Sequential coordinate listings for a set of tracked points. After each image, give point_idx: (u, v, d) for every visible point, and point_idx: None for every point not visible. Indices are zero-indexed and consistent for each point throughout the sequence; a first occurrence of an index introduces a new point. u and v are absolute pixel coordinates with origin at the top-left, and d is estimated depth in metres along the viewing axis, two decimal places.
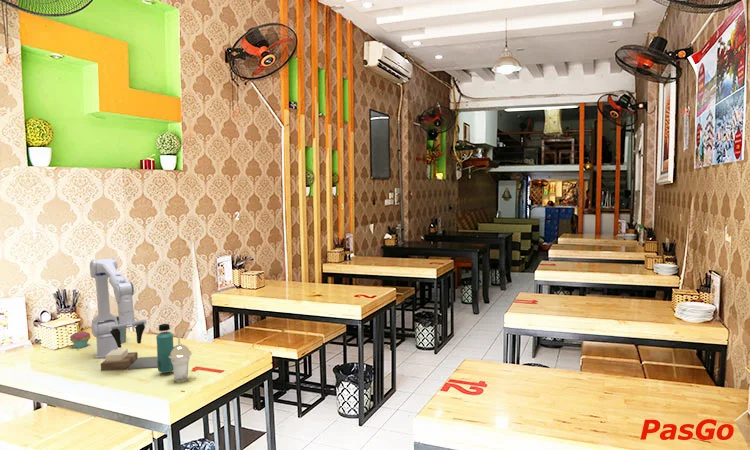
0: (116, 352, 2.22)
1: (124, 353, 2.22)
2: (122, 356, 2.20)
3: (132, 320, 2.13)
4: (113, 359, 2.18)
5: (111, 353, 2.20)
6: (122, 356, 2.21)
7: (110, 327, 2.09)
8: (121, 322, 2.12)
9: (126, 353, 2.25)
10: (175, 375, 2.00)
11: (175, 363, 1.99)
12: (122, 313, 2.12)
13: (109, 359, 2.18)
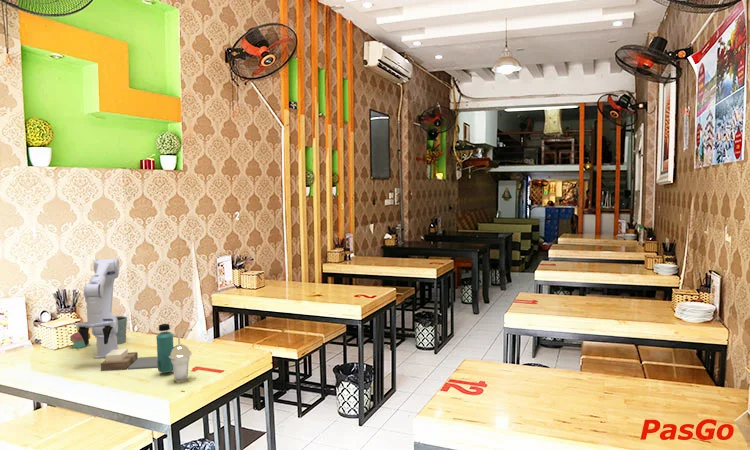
0: (116, 352, 2.22)
1: (124, 353, 2.22)
2: (122, 356, 2.20)
3: (96, 322, 2.18)
4: (113, 359, 2.18)
5: (111, 353, 2.20)
6: (122, 356, 2.21)
7: (77, 325, 2.19)
8: (87, 322, 2.19)
9: (126, 353, 2.25)
10: (175, 375, 2.00)
11: (175, 363, 1.99)
12: (87, 313, 2.18)
13: (109, 359, 2.18)
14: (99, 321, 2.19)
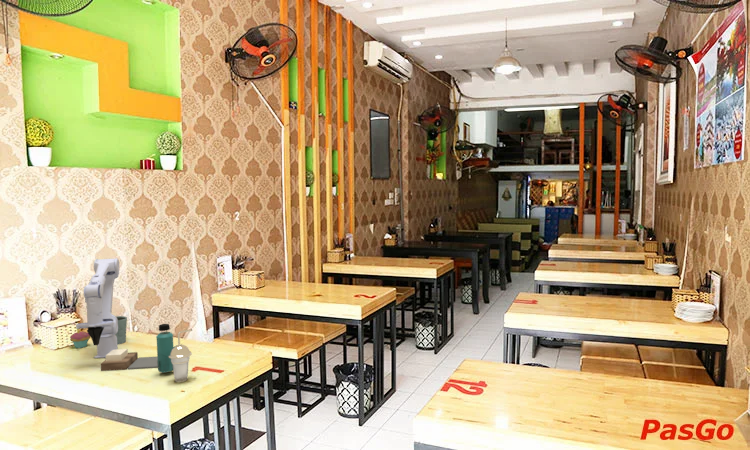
0: (116, 352, 2.22)
1: (124, 353, 2.22)
2: (122, 356, 2.20)
3: (96, 322, 2.18)
4: (113, 359, 2.18)
5: (111, 353, 2.20)
6: (122, 356, 2.21)
7: (77, 325, 2.19)
8: (87, 322, 2.19)
9: (126, 353, 2.25)
10: (175, 375, 2.00)
11: (175, 363, 1.99)
12: (87, 314, 2.18)
13: (109, 359, 2.18)
14: (99, 322, 2.19)
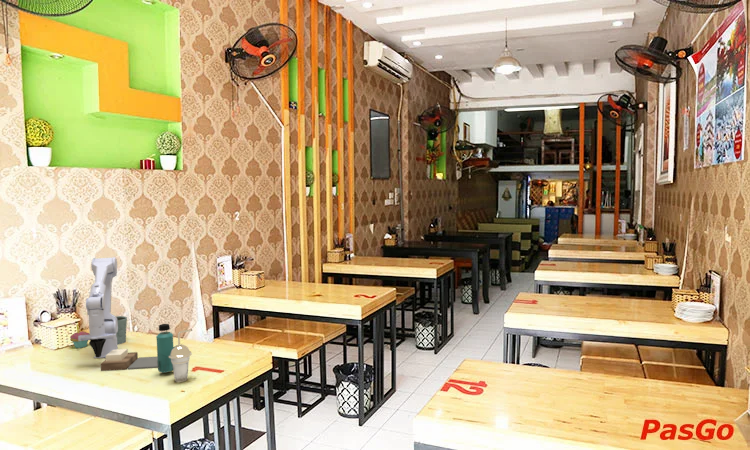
0: (116, 352, 2.22)
1: (124, 353, 2.22)
2: (122, 356, 2.20)
3: (98, 334, 2.18)
4: (113, 359, 2.18)
5: (111, 353, 2.20)
6: (122, 356, 2.21)
7: (79, 337, 2.19)
8: (89, 334, 2.19)
9: (126, 353, 2.25)
10: (175, 375, 2.00)
11: (175, 363, 1.99)
12: (89, 326, 2.18)
13: (109, 359, 2.18)
14: (101, 334, 2.19)
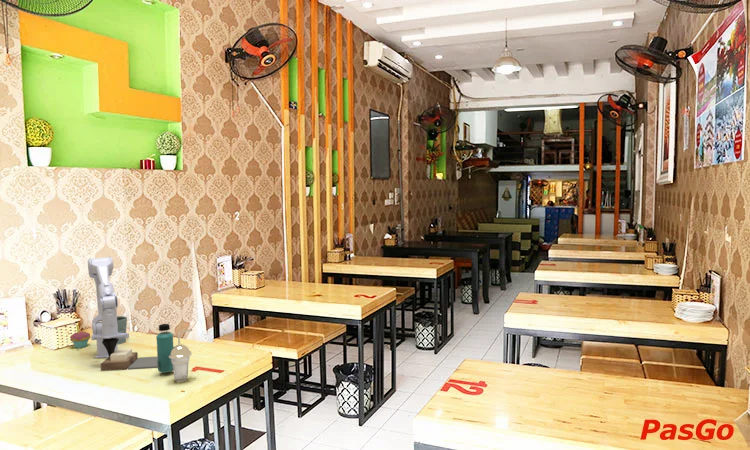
0: (121, 352, 2.22)
1: (128, 353, 2.22)
2: (127, 356, 2.20)
3: (111, 334, 2.19)
4: (118, 359, 2.18)
5: (115, 353, 2.20)
6: (127, 356, 2.21)
7: (92, 337, 2.20)
8: (102, 334, 2.20)
9: (131, 353, 2.25)
10: (175, 375, 2.00)
11: (175, 363, 1.99)
12: (102, 326, 2.19)
13: (114, 359, 2.18)
14: (114, 333, 2.20)
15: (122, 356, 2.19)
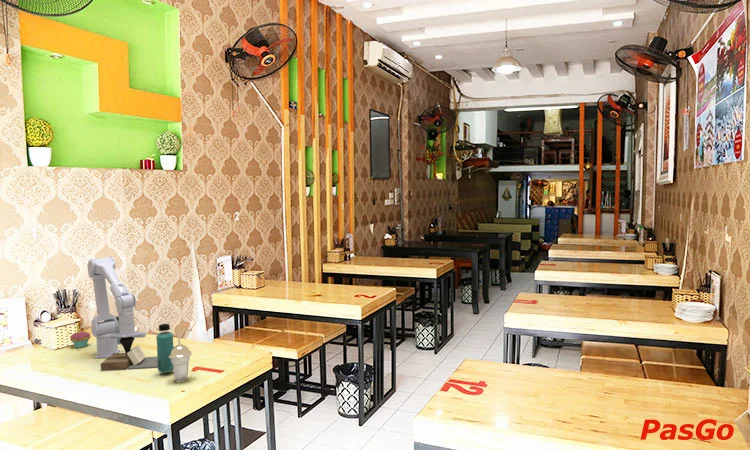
0: (138, 354, 2.23)
1: (140, 360, 2.23)
2: (138, 362, 2.21)
3: (128, 333, 2.20)
4: (131, 358, 2.19)
5: (135, 351, 2.21)
6: None
7: (109, 336, 2.20)
8: (119, 333, 2.21)
9: None
10: (175, 375, 2.00)
11: (175, 363, 1.99)
12: (119, 325, 2.20)
13: (130, 355, 2.19)
14: (131, 332, 2.21)
15: (136, 361, 2.19)
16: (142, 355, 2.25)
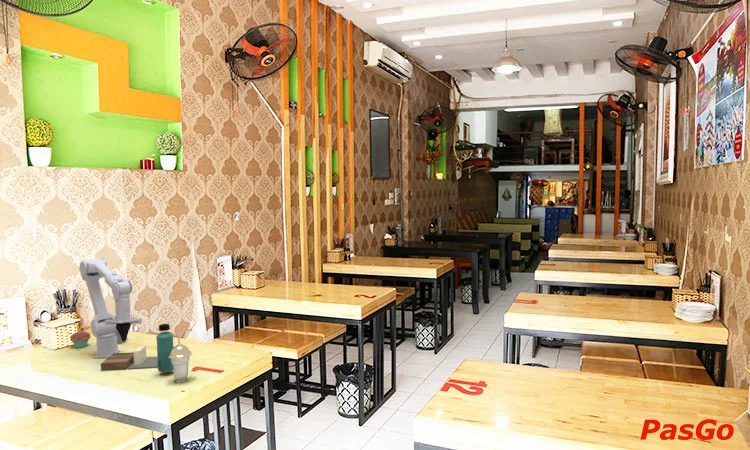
0: (142, 355, 2.23)
1: None
2: None
3: (124, 318, 2.23)
4: (135, 358, 2.19)
5: (141, 352, 2.21)
6: None
7: (106, 321, 2.24)
8: (116, 318, 2.24)
9: None
10: (175, 375, 2.00)
11: (175, 363, 1.99)
12: (116, 311, 2.23)
13: (135, 354, 2.19)
14: (127, 318, 2.24)
15: (138, 362, 2.19)
16: (144, 357, 2.25)
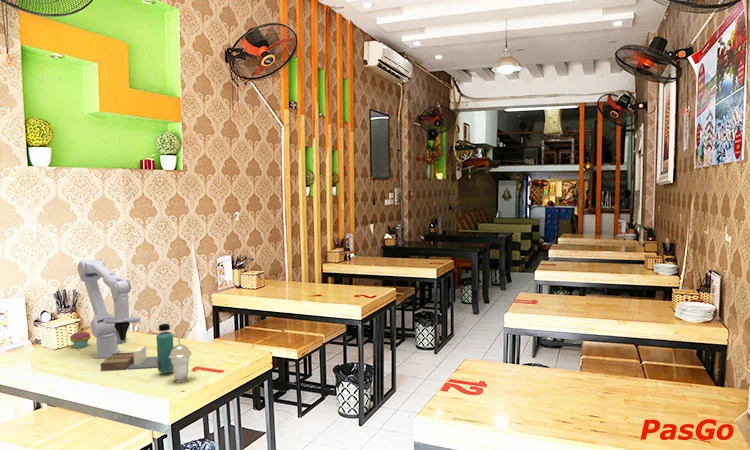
0: (142, 355, 2.23)
1: None
2: None
3: (123, 318, 2.24)
4: (135, 358, 2.19)
5: (141, 352, 2.21)
6: None
7: (104, 321, 2.25)
8: (114, 318, 2.25)
9: None
10: (175, 375, 2.00)
11: (175, 363, 1.99)
12: (114, 310, 2.24)
13: (135, 354, 2.19)
14: (126, 317, 2.25)
15: (138, 362, 2.19)
16: (144, 357, 2.25)
